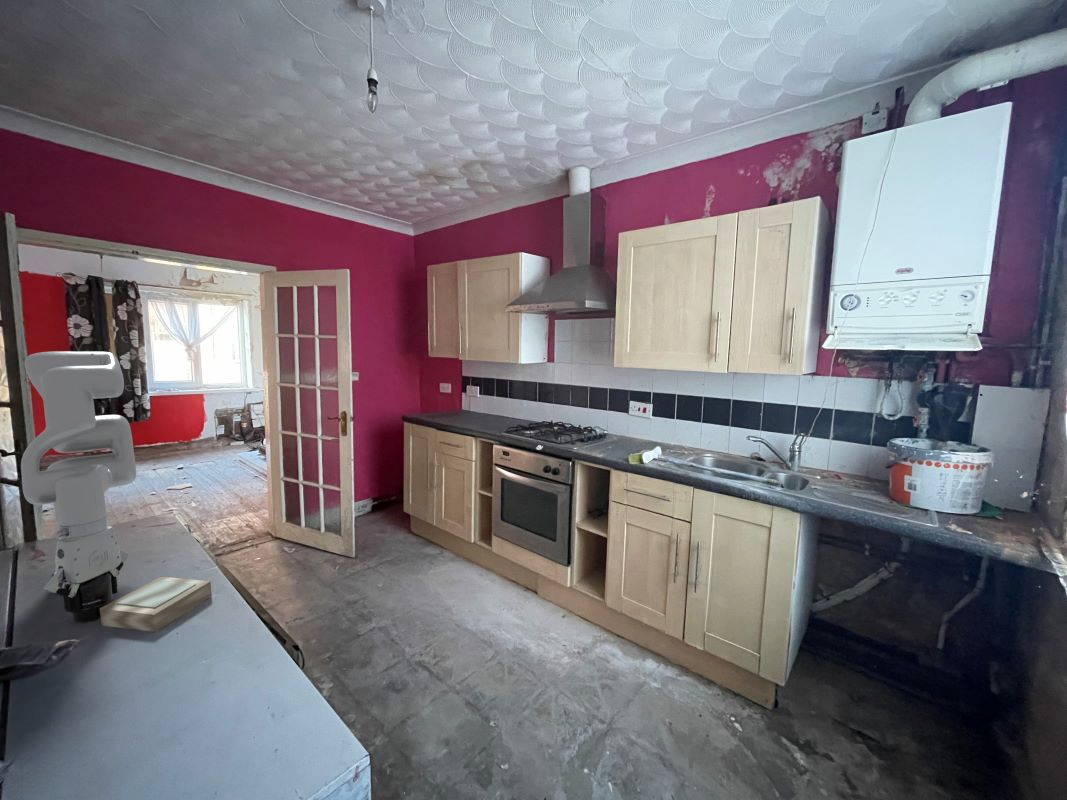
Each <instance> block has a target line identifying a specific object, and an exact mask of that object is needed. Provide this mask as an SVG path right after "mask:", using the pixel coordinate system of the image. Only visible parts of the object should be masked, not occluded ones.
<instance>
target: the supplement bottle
mask: <svg viewBox="0 0 1067 800" xmlns="http://www.w3.org/2000/svg"><path fill="white" fill-rule="evenodd" d="M71 585H72V584H71ZM71 585H70V587H71ZM76 595H79V597H80V605H81V611H80V612H78V613H72V612H71V617H72V621H73V622H74V623H77V624H84V623H85V624H86V623H89V622H94V621H97V620H99V619H100V620H101V615H100V608H102V607H104V606H106V605H108V604H110V603H111V602H113V601H114V594H113V592H112V580H111V575H110V574H109V573H108V572H106V573H104V574H101V575H99V576H97V577H95V578H93V579H90V580H88V581H86V582H83V583H81V584H79V587H78V589H77V592H76Z"/></svg>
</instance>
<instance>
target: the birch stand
mask: <svg viewBox="0 0 1067 800" xmlns="http://www.w3.org/2000/svg"><path fill="white" fill-rule="evenodd" d="M211 585H212V584H211V581H210V580H199V579H190V578H188V579H187V578H179V577H171V576H169V577H168V576H160V577H158V578H156V579H154V580H152V581H151V582H148V583H147V584H144V585H142V586H141V587H139V588H137V589H135V590H133V591H131V592H129V593H127V594H125V595H123V596H122V597H119V598H117V599H115V600H113V602H111V603H110V604H108V605H106V606H104V607H102V608H100V615H101V618H100V623H101V626H103V627H110V628H114V627H115V628H120V629H129V630H137V631H144V632H151V633H153V632H154V633H156V632H158V631H160V630H161V629H163V628H164V627H166V626H168V625H169V624H171V623H172V622H174V621H175V619H176V620H177V619H178V618H180V617H182V616H184V615H186V614H187V613H189V611H191V610H193V609H195V608H196V607H198V606H199V605H200V603H201V604H202V603H204V602H206V601H207V600H209V599H210V598H212V597H211V596H212V594H213V593H212V586H211ZM208 598H209V599H208ZM206 599H207V600H206ZM205 600H206V601H205ZM203 601H204V602H203ZM197 605H198V606H197ZM195 606H196V607H195ZM194 607H195V608H194ZM192 608H193V609H192ZM186 612H187V613H186Z"/></svg>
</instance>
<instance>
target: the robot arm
mask: <svg viewBox="0 0 1067 800" xmlns="http://www.w3.org/2000/svg"><path fill="white" fill-rule="evenodd" d="M121 367H122V366H121V364H120V361H119V359H118V357H117V356H116V355H115V354H114V353H112V352H108V351H72V350H71V351H69V350H68V351H67V350H66V351H63V350H62V351H60V350H59V351H58V350H57V351H41V352H36V353H31V354H30V355H28V356H26V358H25V359H24V368H25V372H26V375H27V376H28V379H29V381H30V382H31V384H32V386H33V387H34V388H35V390H36V391H37V392H38V394H39V395H40V396H41V399H42V402H43V410H44V419H45V429H44V430H42V432H41V433H39V435H37V436H36V437H35V438H34V439H33V440H32V441H31V442H30V443H29V444H28V446H27V447H26V449H25V450H24V452H23V454H22V458H21V462H20V472H21V485H22V492H23V495H24V499H25V500H26V501H27V502H28V503H29V504H31V505H35V506H36V505H37V506H42V505H47V504H48V505H49V504H53V508H54V514H55V521H56V528H57V531H54V533H53V537H54V538H58V540H57V543H56V546H55V547H56V548H55V559H54V560H53V561H54V563H55V572H54V573H53V575H52V577H51V578H50V579H49V581H47V583H46V584H45V585H44V587H43V590H44V591H46V592H49V593H51V594H53V595H56V596H59V597H62V598H63V599H62V600H63V605H64V606H63V607H64V608H63V609H64V610H65V611H66V613H71V614H72V613H78V612H80V611H81V605H80V597H79V595H76V592H77V589H78V587H79V584H81V583H83V582H86V581H88V580H90V579H93V578H95V577H97V576H99V575H101V574H104V573H106V572H108V573H109V574H110V575H111V580H112V592H113V595H115V594H118V576H119V575H120V571H121V569H122V568H123V566H124V563H125V561H126V560H127V558H128V557H129V553H127V552H123V551H121V550H120V546H119V542H118V539H117V538H118V537H117V536H116V533H115V531H114V529H113V526H111V525H108V518H107V509H106V508H107V507H106V499H105V494H106V493H107V491H108V490H109V489H111V488H116V487H122V486H127V485H130V484H132V483H133V482H135V479H136V477H137V465H136V457H135V451H134V442H133V436H132V435H133V434H132V430H131V425H130V422H129V421H128V419H127V418H126V417H124V416H122V415H120V414H105V415H104V414H103V415H96V412H95V411H96V410H95V403H94V399H107V398H109V399H111V398H118V397H120V396H122V394H123V393H124V388H125V380H124V374H123V372H122V368H121ZM51 449H53V450H54V452H57V453H60V454H73V453H82V452H83V453H84V452H93V451H99V450H100V451H101V450H109V451H111V453H102V454H96V455H95V454H94V455H85V456H77V457H71V458H65V459H60V460H57V461H55V462H53V463H51V464H50V465H49V466H48V467H47V468H46V470H42V471H41V470H40V461H41V459H42V457H43V456H44V455H45V454H46V453H47V452H48V451H51ZM59 584H62V586H61V587H60V585H59ZM71 584H72V585H71ZM70 585H71V587H70Z"/></svg>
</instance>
